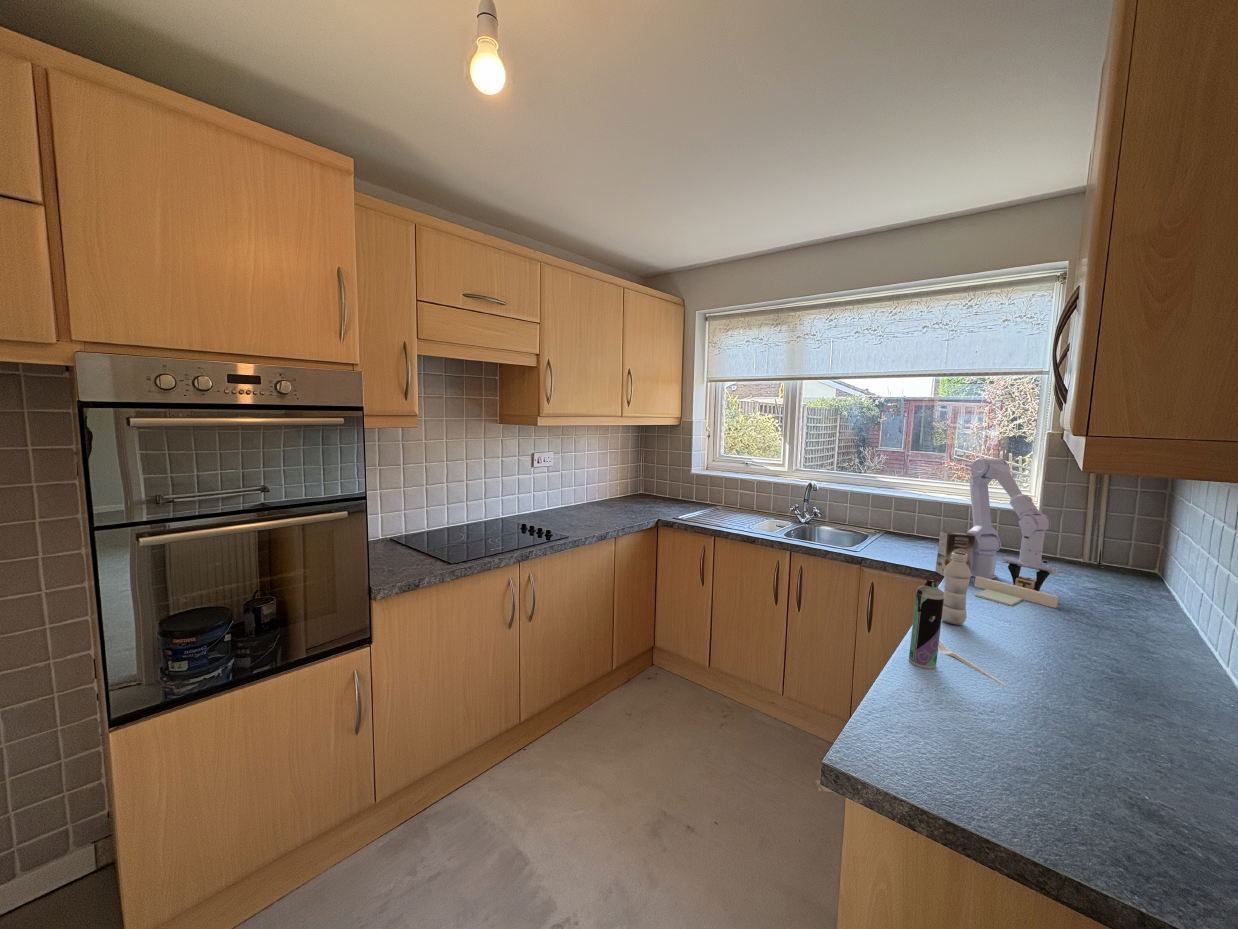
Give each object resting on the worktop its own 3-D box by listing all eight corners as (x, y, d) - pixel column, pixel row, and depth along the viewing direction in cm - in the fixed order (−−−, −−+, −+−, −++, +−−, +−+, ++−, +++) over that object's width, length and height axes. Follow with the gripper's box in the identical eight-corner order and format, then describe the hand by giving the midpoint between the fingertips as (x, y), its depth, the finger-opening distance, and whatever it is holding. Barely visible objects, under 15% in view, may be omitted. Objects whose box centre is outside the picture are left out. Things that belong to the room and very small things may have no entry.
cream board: (976, 585, 177) (977, 576, 177) (1056, 607, 159) (1058, 596, 159) (974, 586, 176) (975, 576, 176) (1055, 607, 158) (1056, 597, 158)
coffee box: (943, 576, 186) (948, 533, 184) (934, 571, 192) (939, 529, 191) (970, 578, 185) (975, 535, 183) (960, 573, 191) (965, 531, 190)
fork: (1000, 690, 109) (1001, 682, 109) (926, 645, 128) (927, 638, 128) (1012, 689, 110) (1013, 681, 109) (937, 644, 129) (938, 637, 129)
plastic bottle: (967, 623, 143) (975, 554, 141) (963, 629, 138) (971, 558, 136) (941, 616, 148) (948, 549, 146) (935, 622, 143) (943, 553, 141)
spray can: (926, 671, 114) (936, 585, 112) (903, 660, 119) (912, 577, 117) (941, 666, 117) (950, 582, 115) (917, 656, 122) (926, 575, 119)
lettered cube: (1019, 589, 175) (1021, 575, 175) (1037, 594, 171) (1039, 579, 171) (1013, 592, 172) (1015, 577, 172) (1032, 597, 168) (1034, 582, 168)
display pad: (986, 590, 172) (986, 588, 172) (1022, 600, 164) (1022, 598, 164) (974, 595, 166) (974, 594, 166) (1011, 606, 158) (1011, 604, 158)
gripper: (1001, 545, 174) (996, 584, 175) (1055, 556, 162) (1049, 598, 163) (1008, 543, 178) (1003, 581, 179) (1061, 554, 166) (1056, 594, 167)
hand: (1026, 589), depth 171 cm, fingers open, 5 cm apart
